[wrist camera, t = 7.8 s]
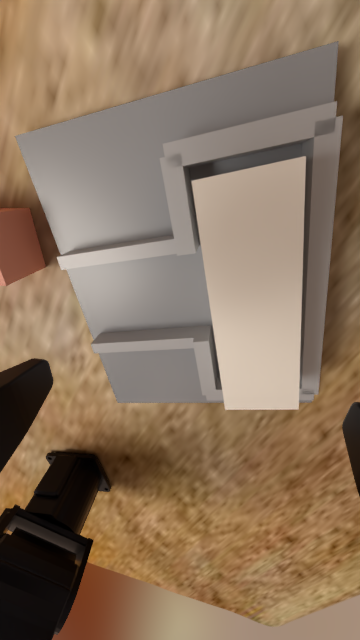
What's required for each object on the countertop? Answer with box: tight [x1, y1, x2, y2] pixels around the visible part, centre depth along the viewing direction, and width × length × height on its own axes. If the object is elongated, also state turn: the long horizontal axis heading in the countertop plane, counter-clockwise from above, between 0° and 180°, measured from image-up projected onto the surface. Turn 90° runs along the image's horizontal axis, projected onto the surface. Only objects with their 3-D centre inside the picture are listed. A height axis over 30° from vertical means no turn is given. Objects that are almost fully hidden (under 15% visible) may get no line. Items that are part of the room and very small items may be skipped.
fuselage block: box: [192, 156, 306, 410], centre depth 14 cm, size 12×4×4 cm, turn 11°
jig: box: [15, 41, 343, 403], centre depth 16 cm, size 20×16×3 cm
